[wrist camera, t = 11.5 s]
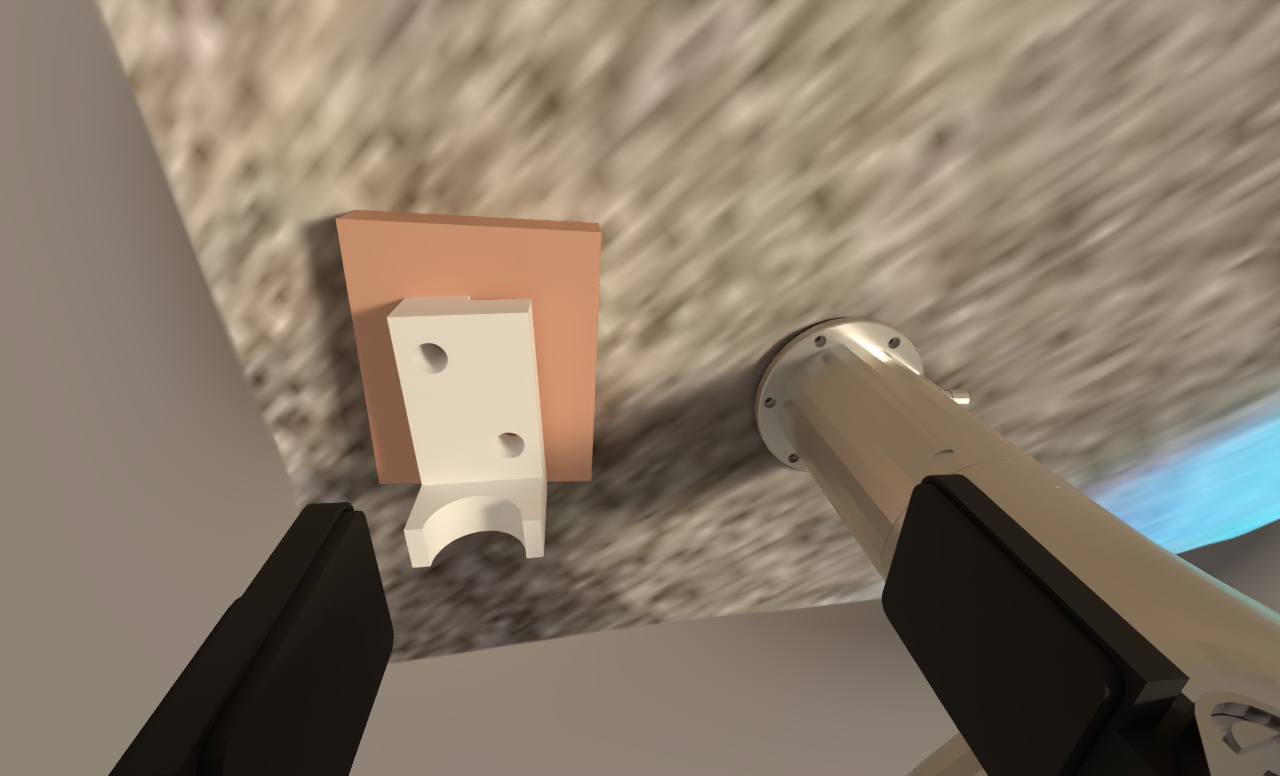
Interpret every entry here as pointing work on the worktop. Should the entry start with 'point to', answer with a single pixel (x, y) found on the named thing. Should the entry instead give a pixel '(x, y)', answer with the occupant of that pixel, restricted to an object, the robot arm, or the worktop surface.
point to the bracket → (471, 420)
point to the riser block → (483, 270)
